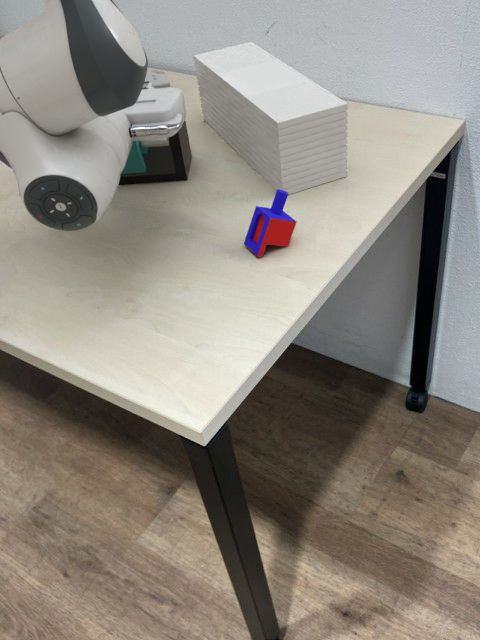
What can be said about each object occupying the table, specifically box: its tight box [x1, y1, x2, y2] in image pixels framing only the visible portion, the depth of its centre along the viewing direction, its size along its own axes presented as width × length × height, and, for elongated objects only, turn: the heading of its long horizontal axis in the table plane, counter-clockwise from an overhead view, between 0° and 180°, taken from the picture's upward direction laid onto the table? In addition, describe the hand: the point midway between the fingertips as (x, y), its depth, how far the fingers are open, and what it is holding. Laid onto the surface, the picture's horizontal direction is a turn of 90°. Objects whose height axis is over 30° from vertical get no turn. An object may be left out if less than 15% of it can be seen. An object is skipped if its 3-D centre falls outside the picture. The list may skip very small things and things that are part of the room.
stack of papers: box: [192, 41, 349, 196], centre depth 96 cm, size 32×11×11 cm, turn 26°
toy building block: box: [243, 189, 298, 258], centre depth 77 cm, size 4×4×8 cm
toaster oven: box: [118, 119, 193, 186], centre depth 91 cm, size 12×14×10 cm
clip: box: [121, 141, 148, 174], centre depth 83 cm, size 5×4×12 cm
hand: (113, 91), depth 81 cm, fingers open, 8 cm apart
